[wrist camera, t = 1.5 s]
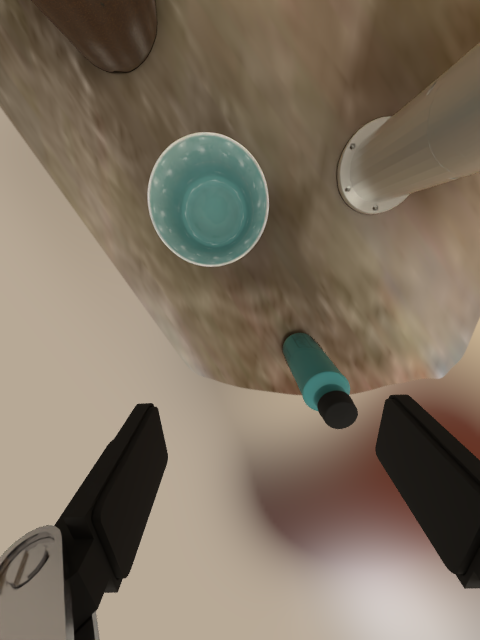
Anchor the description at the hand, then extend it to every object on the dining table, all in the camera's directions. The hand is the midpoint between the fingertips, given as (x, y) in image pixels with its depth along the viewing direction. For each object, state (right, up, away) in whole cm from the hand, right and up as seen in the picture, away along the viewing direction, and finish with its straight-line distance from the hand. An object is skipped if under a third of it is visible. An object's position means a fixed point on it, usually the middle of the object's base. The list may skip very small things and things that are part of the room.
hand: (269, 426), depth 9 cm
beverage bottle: (+10, 0, +35) cm, 36 cm away
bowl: (-5, +22, +27) cm, 35 cm away
